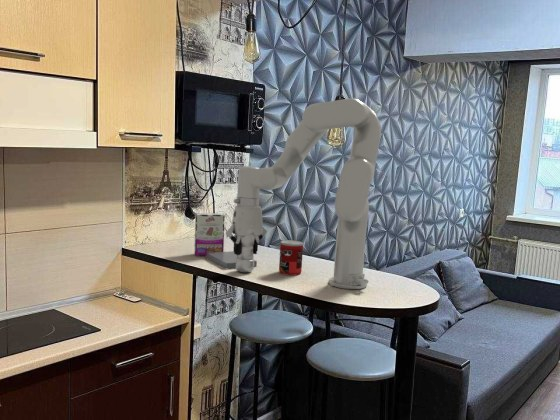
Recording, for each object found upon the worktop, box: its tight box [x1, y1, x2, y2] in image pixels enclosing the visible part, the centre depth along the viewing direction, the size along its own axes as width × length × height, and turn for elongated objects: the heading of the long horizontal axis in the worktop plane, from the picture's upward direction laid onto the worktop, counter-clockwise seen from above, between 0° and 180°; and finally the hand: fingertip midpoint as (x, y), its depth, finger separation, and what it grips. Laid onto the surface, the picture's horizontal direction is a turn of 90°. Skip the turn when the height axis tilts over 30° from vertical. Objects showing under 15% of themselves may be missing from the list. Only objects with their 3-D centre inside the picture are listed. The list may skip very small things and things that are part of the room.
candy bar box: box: [194, 212, 225, 257], centre depth 213 cm, size 11×5×16 cm, turn 104°
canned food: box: [278, 239, 304, 276], centre depth 192 cm, size 8×8×11 cm
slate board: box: [206, 250, 258, 270], centre depth 203 cm, size 18×12×2 cm, turn 31°
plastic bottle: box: [235, 228, 255, 273], centre depth 188 cm, size 6×7×20 cm
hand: (245, 253), depth 189 cm, fingers open, 5 cm apart
